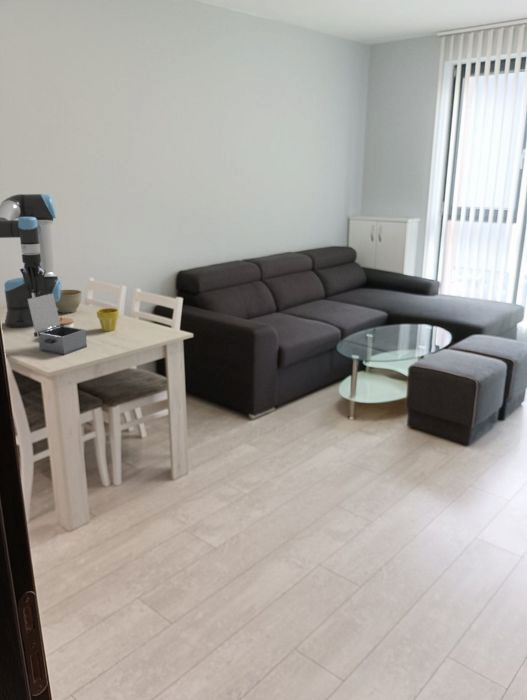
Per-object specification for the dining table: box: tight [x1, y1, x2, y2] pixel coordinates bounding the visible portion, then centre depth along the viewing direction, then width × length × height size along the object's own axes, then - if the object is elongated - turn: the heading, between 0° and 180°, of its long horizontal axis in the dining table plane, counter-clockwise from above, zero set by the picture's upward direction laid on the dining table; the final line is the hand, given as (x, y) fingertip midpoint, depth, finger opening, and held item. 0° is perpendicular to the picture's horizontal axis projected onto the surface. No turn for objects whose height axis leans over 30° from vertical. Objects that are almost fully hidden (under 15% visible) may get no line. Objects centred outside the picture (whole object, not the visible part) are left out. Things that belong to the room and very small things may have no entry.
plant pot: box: [96, 307, 120, 332], centre depth 286 cm, size 10×10×10 cm
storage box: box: [33, 324, 88, 356], centre depth 255 cm, size 15×17×8 cm
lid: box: [27, 293, 60, 333], centre depth 255 cm, size 15×14×3 cm
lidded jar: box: [59, 316, 75, 328], centre depth 274 cm, size 11×11×9 cm
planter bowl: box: [55, 289, 83, 314], centre depth 321 cm, size 16×16×11 cm
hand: (36, 306), depth 256 cm, fingers closed
